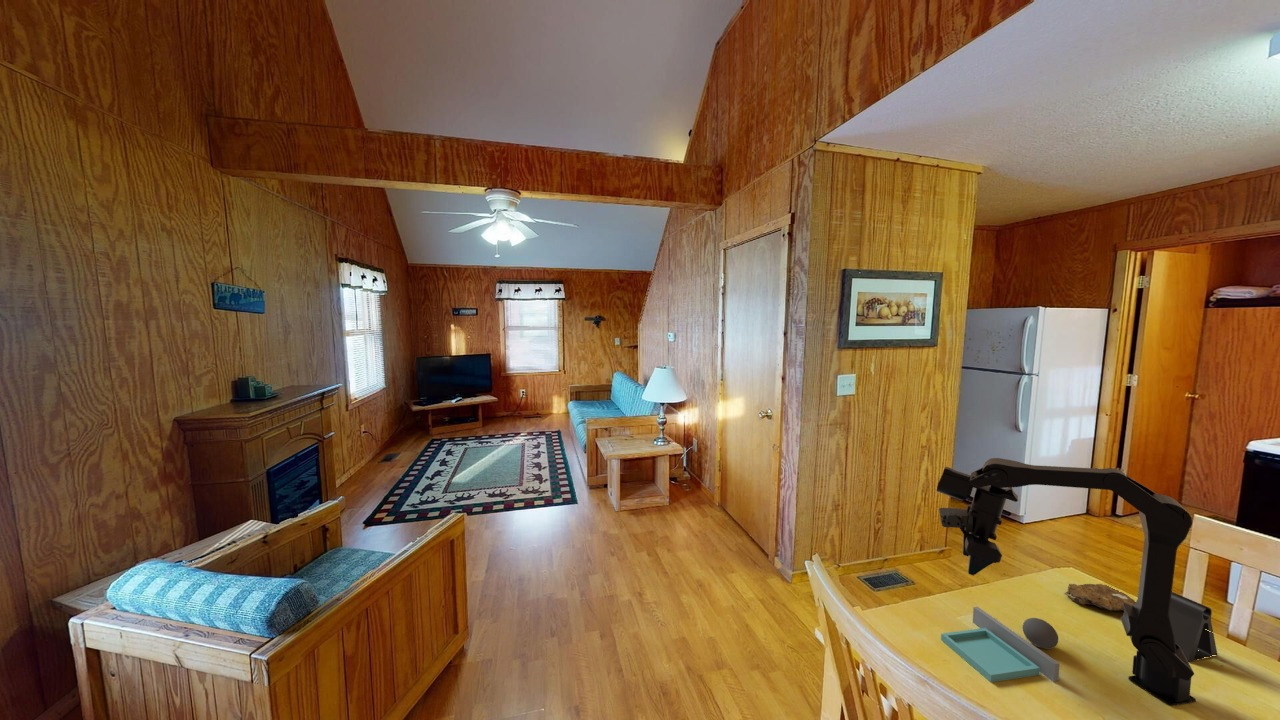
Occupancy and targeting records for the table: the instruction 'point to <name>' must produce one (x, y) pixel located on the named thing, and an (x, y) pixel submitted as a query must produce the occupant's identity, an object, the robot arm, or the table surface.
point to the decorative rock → (1098, 596)
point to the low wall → (1018, 644)
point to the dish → (990, 655)
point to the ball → (1040, 633)
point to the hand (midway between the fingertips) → (968, 564)
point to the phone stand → (1192, 627)
